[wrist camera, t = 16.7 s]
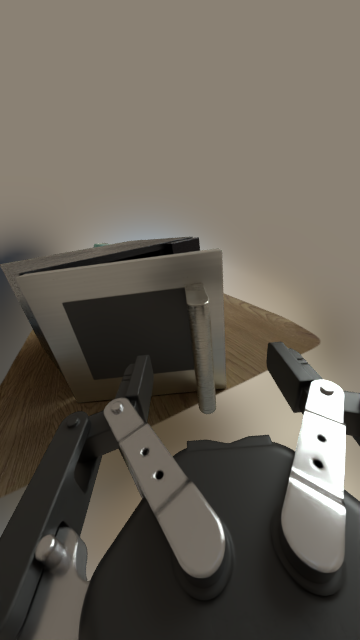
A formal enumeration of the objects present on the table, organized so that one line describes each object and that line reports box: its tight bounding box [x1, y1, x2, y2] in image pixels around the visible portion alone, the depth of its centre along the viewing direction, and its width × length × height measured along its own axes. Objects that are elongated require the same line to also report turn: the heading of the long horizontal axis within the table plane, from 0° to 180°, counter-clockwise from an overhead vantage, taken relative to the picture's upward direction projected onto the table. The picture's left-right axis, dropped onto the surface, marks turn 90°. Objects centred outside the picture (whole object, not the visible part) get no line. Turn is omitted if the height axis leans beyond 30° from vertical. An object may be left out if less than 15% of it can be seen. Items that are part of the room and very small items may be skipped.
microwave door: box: [16, 248, 226, 414], centre depth 21 cm, size 8×21×18 cm, turn 90°
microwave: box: [0, 237, 200, 376], centre depth 40 cm, size 24×28×18 cm
